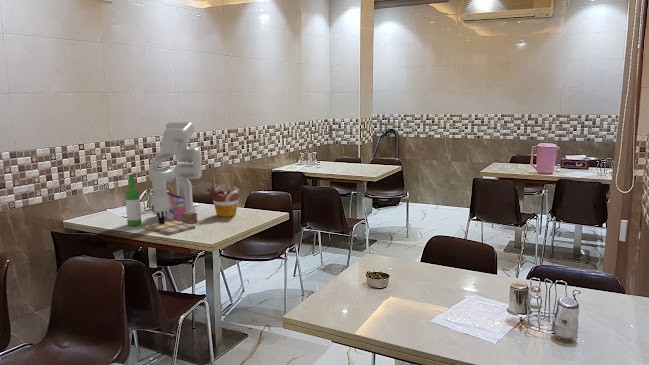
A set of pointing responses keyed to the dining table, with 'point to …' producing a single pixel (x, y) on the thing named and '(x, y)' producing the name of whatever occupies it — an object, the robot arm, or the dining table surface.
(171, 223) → the beige segmented panel
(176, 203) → the gum box
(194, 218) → the walnut block
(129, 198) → the wine bottle
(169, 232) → the board
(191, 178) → the robot arm
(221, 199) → the bucket of meat
